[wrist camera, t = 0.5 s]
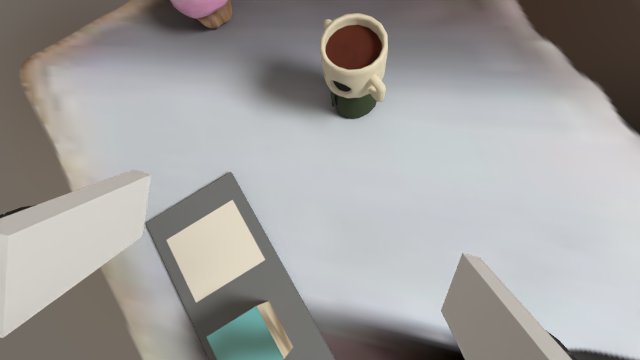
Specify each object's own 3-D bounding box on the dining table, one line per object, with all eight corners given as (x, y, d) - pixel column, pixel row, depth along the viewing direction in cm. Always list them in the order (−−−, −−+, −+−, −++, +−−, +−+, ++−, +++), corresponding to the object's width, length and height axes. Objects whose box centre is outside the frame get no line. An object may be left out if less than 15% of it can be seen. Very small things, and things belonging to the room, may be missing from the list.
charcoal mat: (341, 369, 42) (341, 371, 41) (245, 431, 42) (243, 433, 41) (231, 173, 49) (230, 171, 48) (148, 223, 49) (145, 223, 48)
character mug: (310, 84, 51) (295, 24, 38) (352, 56, 51) (351, -12, 39) (356, 143, 48) (355, 101, 36) (399, 114, 49) (414, 61, 36)
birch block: (293, 347, 43) (283, 360, 37) (249, 374, 42) (232, 392, 37) (268, 300, 44) (255, 306, 38) (226, 327, 44) (206, 336, 38)
